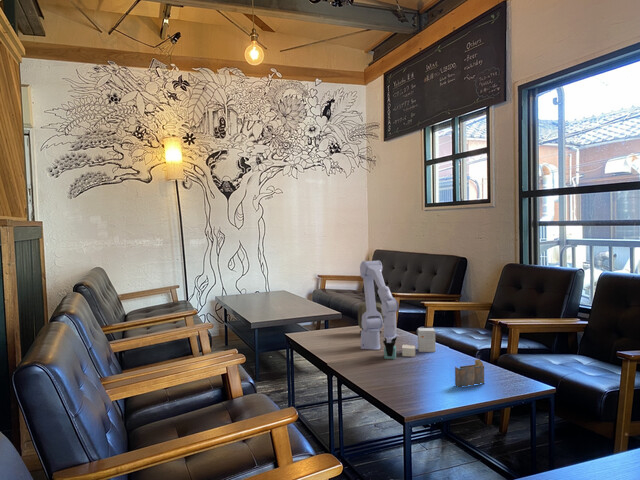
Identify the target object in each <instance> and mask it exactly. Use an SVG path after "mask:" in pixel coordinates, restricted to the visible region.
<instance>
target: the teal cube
mask: <svg viewBox="0 0 640 480" xmlns="http://www.w3.org/2000/svg"><path fill="white" fill-rule="evenodd" d="M383 350H384V354H383V355H384V357H383V359H387V360H396V358H397V346H396V345H394V348H393V354H392V356H387V352H386V347H385V346H384V349H383Z"/></svg>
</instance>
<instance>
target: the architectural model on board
mask: <svg viewBox="0 0 640 480" xmlns="http://www.w3.org/2000/svg"><path fill="white" fill-rule="evenodd" d="M473 360H474V364H468V365H461V366H459V367H456V366H455V367H454V386H455V385H456V387H457V386H458V387H457V388H459V387H462V386H468V385H474V384H480V383H484V384H485V365H484V362H482V361H481V359H480V358H478V359H475V358H474V359H473ZM462 388H463V387H462Z"/></svg>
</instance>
